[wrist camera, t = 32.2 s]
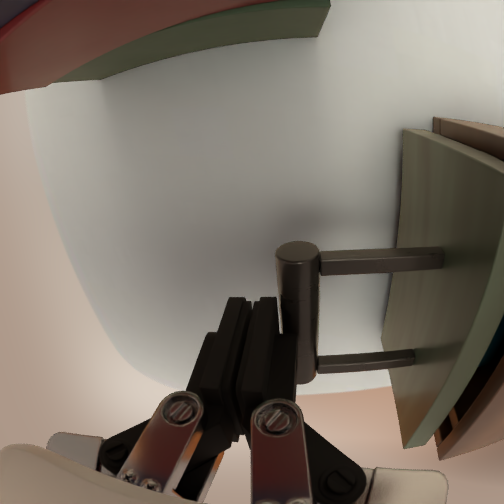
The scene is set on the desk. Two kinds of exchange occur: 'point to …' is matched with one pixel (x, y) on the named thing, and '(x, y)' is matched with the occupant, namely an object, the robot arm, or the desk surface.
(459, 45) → the desk surface
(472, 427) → the cabinet
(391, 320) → the drawer
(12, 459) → the robot arm
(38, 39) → the notebooks
